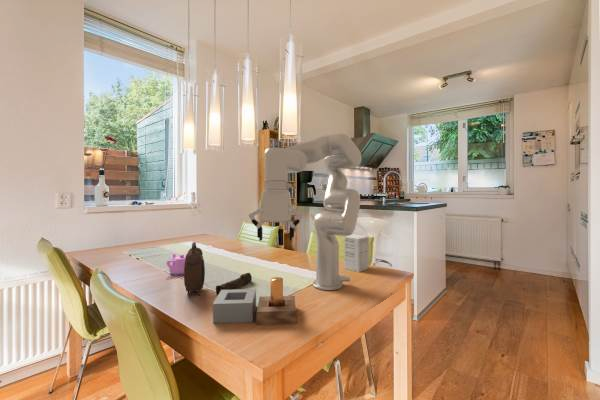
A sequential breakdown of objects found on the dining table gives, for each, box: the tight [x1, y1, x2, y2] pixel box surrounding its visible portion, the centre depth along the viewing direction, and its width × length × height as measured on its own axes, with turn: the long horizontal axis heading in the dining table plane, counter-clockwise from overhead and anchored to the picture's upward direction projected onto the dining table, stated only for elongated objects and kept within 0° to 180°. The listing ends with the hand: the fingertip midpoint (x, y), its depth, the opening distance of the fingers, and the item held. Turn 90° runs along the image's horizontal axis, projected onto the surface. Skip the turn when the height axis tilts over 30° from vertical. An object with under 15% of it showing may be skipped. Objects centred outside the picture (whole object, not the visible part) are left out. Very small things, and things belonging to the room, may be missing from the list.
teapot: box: [166, 252, 186, 276], centre depth 139 cm, size 12×14×9 cm
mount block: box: [256, 295, 297, 326], centre depth 91 cm, size 12×12×4 cm
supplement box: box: [343, 234, 370, 273], centre depth 144 cm, size 10×9×17 cm
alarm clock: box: [183, 241, 206, 296], centre depth 112 cm, size 15×7×20 cm, turn 17°
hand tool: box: [215, 272, 253, 296], centre depth 117 cm, size 19×4×5 cm, turn 146°
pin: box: [270, 276, 284, 307], centre depth 91 cm, size 4×4×12 cm
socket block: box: [212, 288, 257, 324], centre depth 92 cm, size 12×12×6 cm
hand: (275, 239), depth 91 cm, fingers open, 9 cm apart
